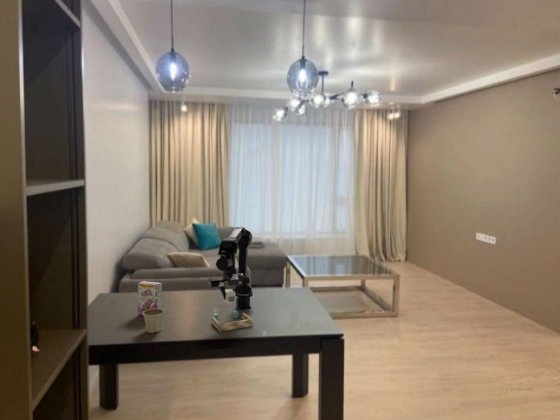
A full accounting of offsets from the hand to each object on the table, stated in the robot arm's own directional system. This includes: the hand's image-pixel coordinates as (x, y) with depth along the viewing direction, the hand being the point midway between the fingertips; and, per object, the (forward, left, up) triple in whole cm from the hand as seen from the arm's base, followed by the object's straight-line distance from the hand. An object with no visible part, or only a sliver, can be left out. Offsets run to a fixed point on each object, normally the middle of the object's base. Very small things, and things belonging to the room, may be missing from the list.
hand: (229, 299), depth 201 cm
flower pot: (+34, -5, -12) cm, 36 cm away
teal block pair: (0, -6, -11) cm, 13 cm away
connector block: (0, 0, -1) cm, 1 cm away
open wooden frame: (0, +3, -11) cm, 12 cm away
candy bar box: (+32, -27, -12) cm, 43 cm away
